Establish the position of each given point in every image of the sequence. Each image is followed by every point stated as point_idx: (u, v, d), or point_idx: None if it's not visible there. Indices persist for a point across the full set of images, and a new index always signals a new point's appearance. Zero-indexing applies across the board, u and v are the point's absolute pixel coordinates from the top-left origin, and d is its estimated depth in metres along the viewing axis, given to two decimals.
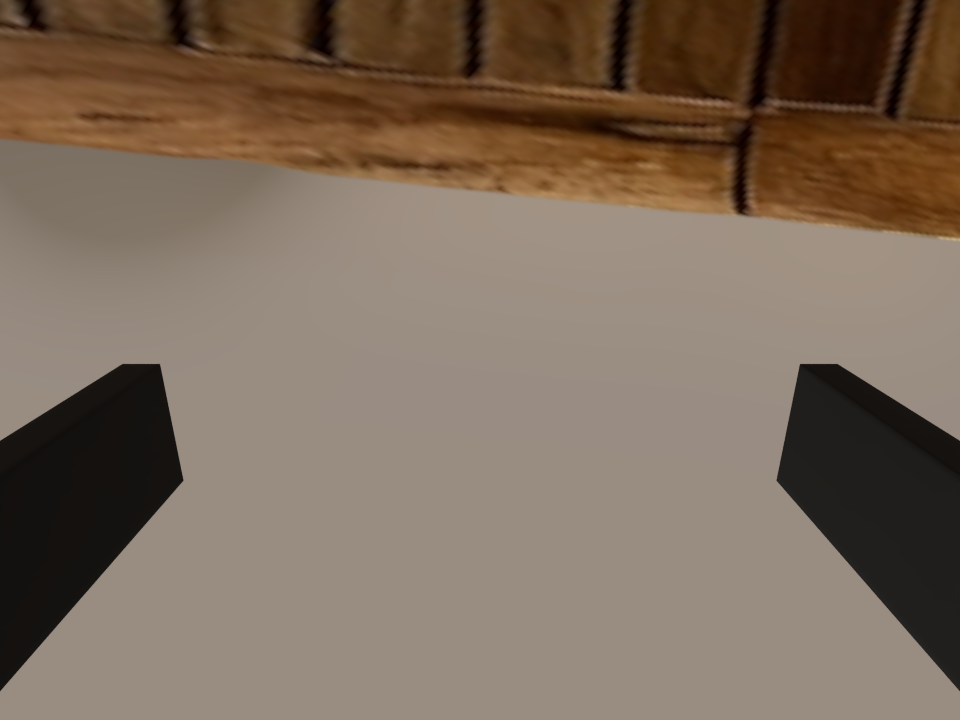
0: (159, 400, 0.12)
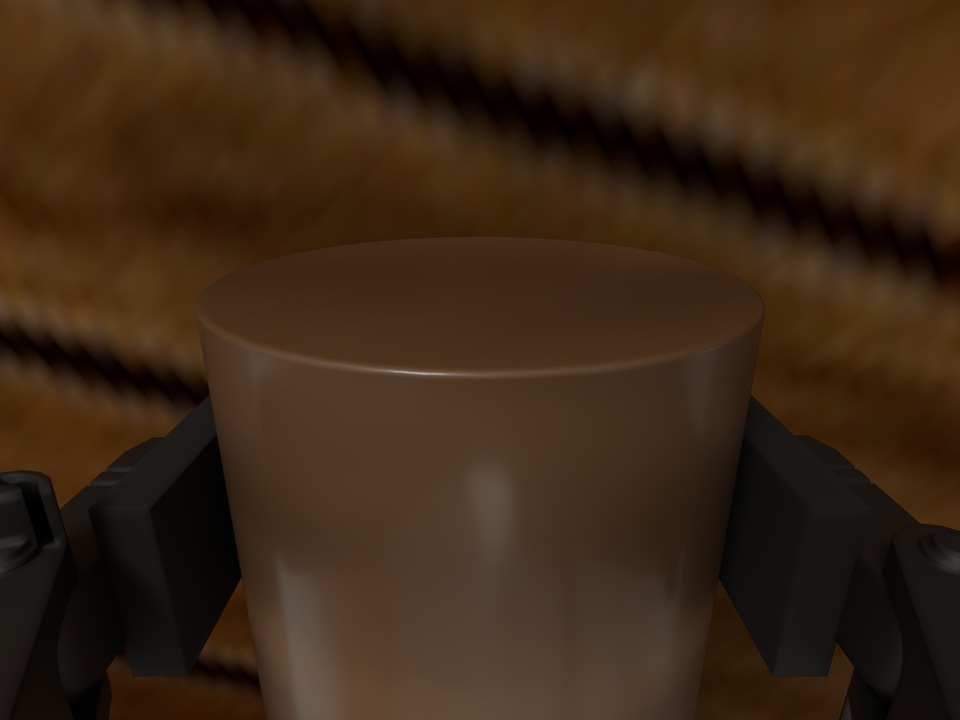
0: None
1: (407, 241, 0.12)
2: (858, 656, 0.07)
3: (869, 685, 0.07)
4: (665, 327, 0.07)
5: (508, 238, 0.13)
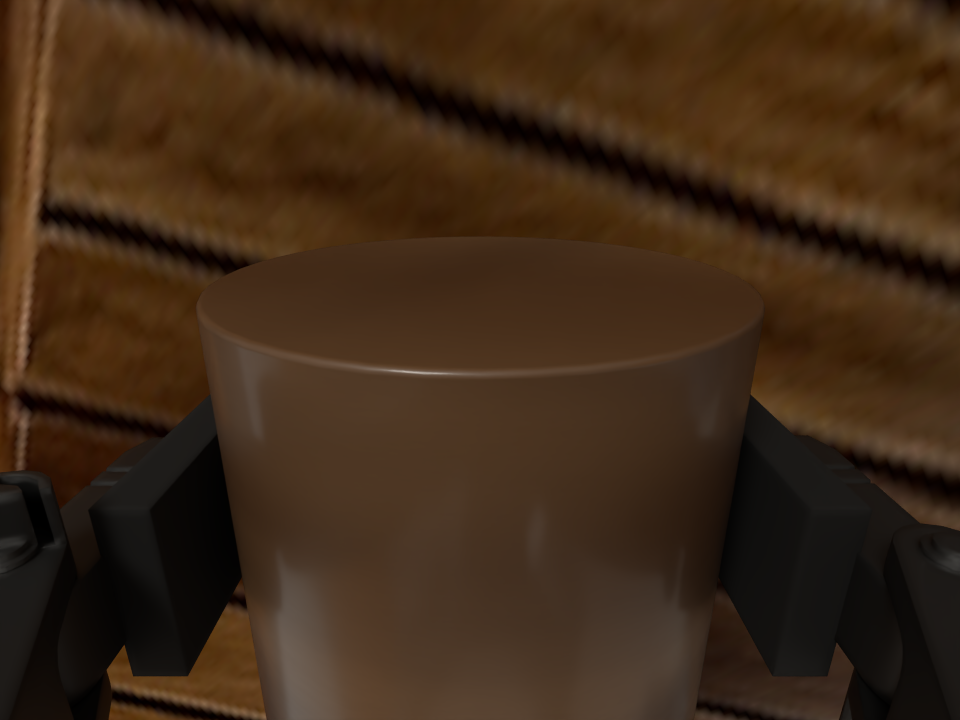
0: None
1: (407, 241, 0.12)
2: (858, 656, 0.07)
3: (868, 685, 0.07)
4: (665, 327, 0.07)
5: (508, 238, 0.13)
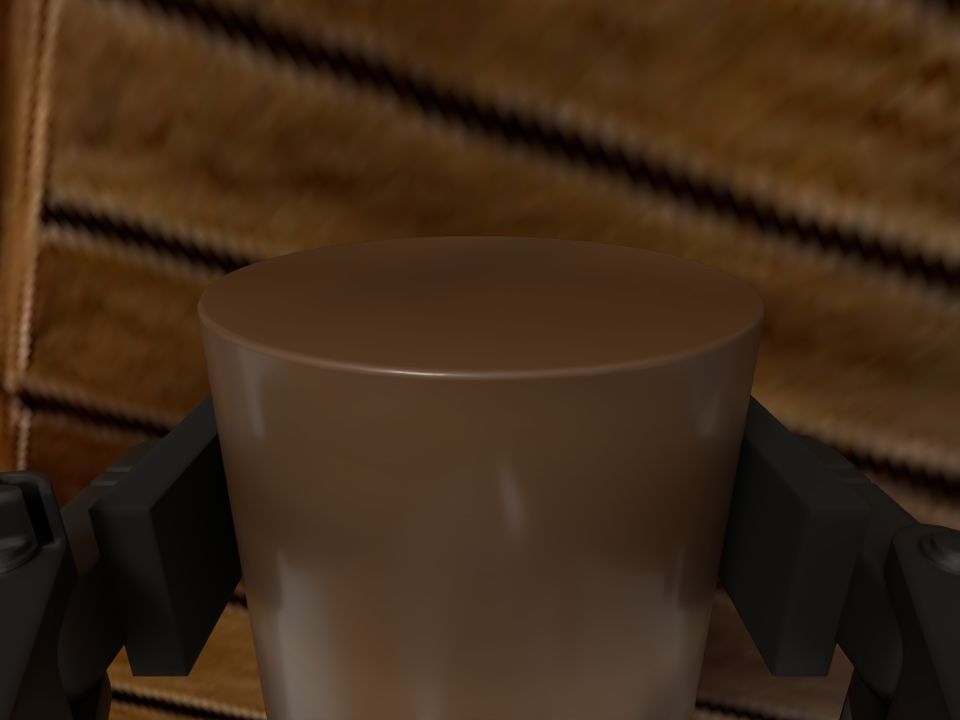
0: None
1: (407, 240, 0.12)
2: (858, 656, 0.07)
3: (868, 685, 0.07)
4: (666, 328, 0.07)
5: (508, 238, 0.13)
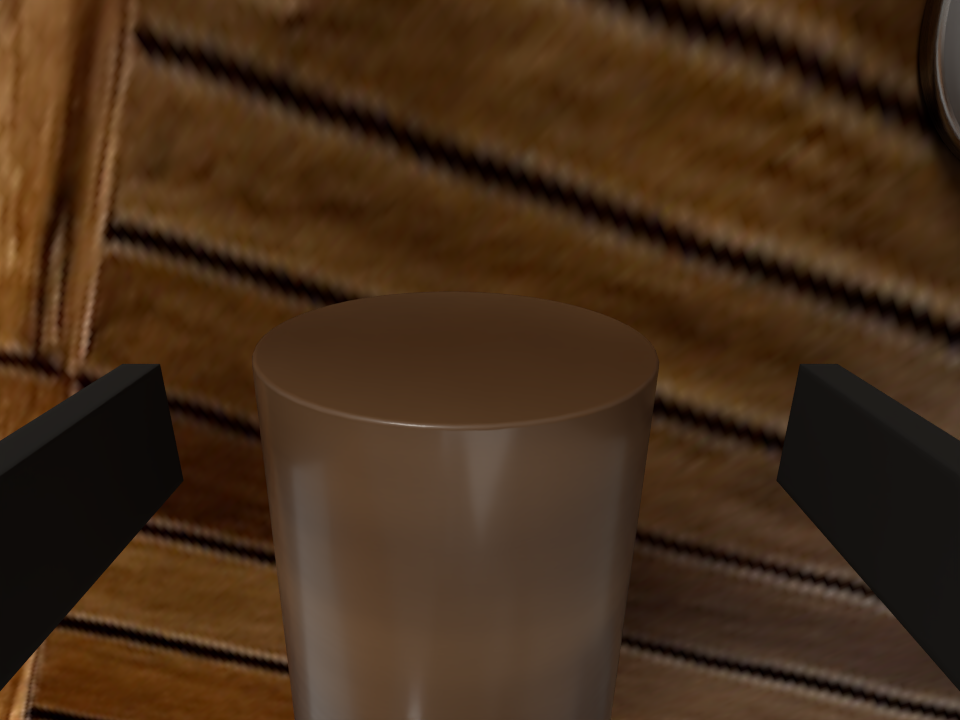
0: (159, 400, 0.12)
1: (402, 296, 0.15)
2: None
3: None
4: (582, 390, 0.10)
5: (482, 294, 0.16)
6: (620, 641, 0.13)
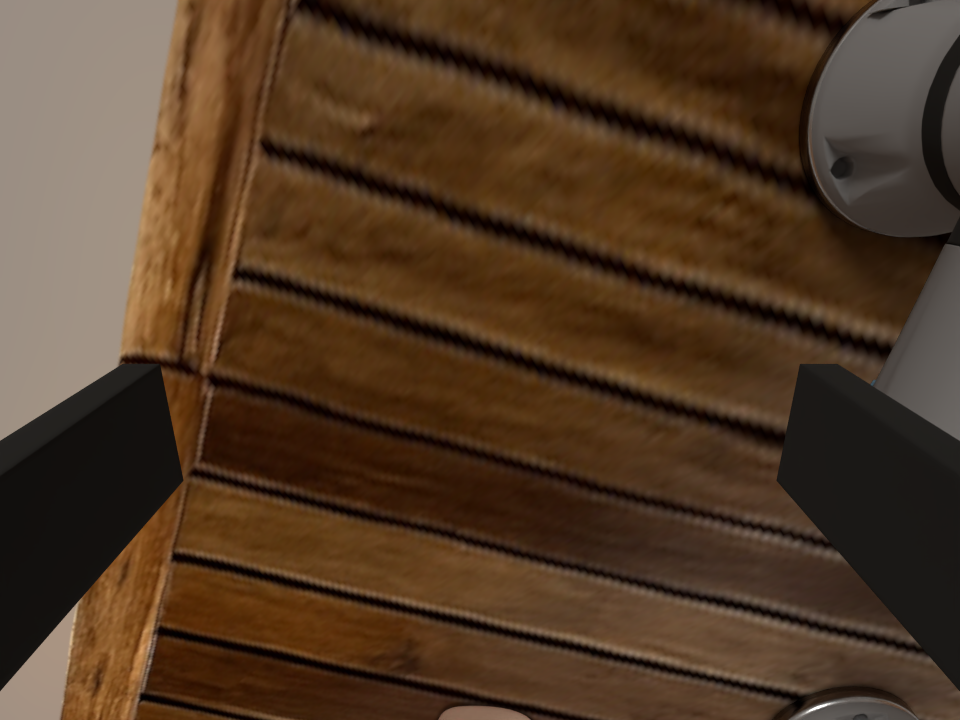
0: (159, 400, 0.12)
1: None
2: None
3: None
4: None
5: None
6: None
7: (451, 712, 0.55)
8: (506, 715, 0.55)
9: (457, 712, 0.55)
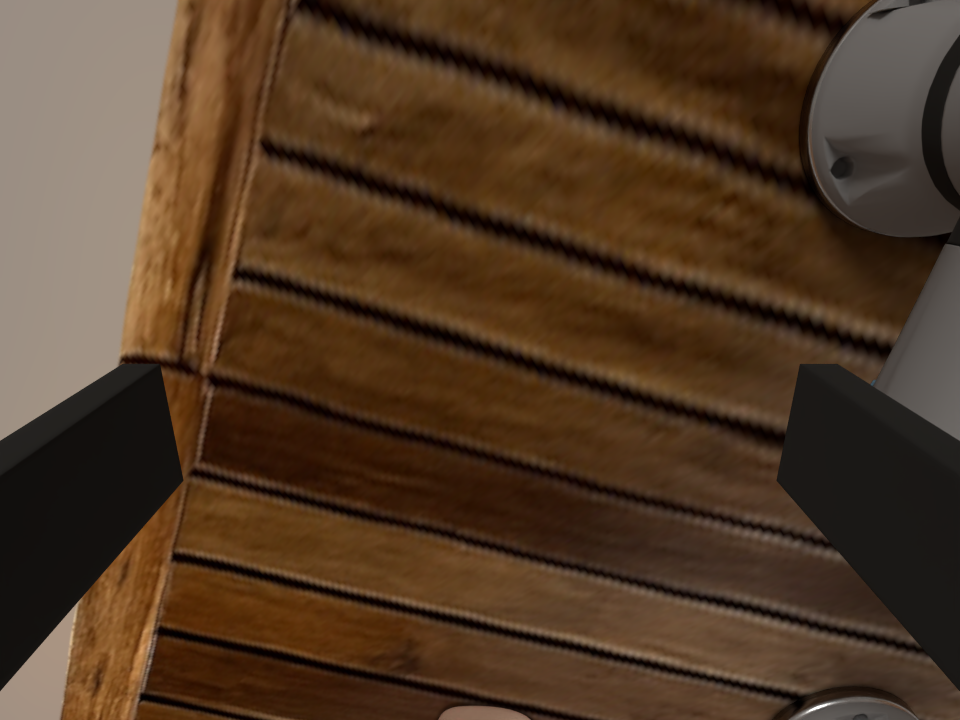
0: (159, 400, 0.12)
1: None
2: None
3: None
4: None
5: None
6: None
7: (451, 712, 0.55)
8: (506, 715, 0.55)
9: (457, 712, 0.55)
